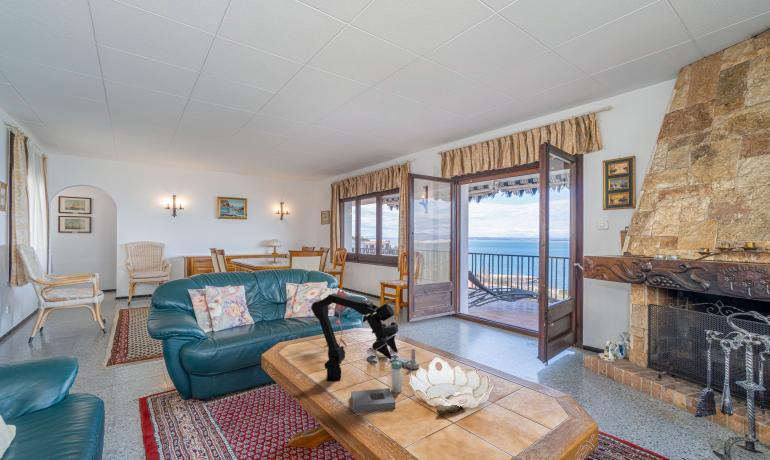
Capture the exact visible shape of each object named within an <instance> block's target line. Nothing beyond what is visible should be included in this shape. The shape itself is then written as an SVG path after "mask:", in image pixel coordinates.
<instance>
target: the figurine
mask: <svg viewBox="0 0 770 460" xmlns="http://www.w3.org/2000/svg"><path fill="white" fill-rule="evenodd" d="M335 294H337V295H340V296H343V297H347V293H346V292H345V291H344V290H340V289H338V290H337V292H336V293H335ZM336 308H337V309H338V310H337V309H336ZM345 308H347V309H348V310H349V311H350V312H351V313H353V310H351V308H349V307H345V306H342V305H338V304H335V307H333V308H332V307H331V308H330V307H328V309H329V310H334V311H336V312H337V313H338V314H339V315H338V319H337V320H336V321H335V323H333V324H331V326H335V325H339V326H340V329H343V327H342V325H341V321H340V317H341V314H342V312H341V311H342V310H345ZM340 335H341V337H340V338H339V343H338V345H339V346H340V345H341V343H342V344H343V345H344V346H345V347H348V345H347V343H346V342H345V340H344V339H343V331H341V334H340ZM347 342H349V343H352V344H353V342H352V341H348V340H347Z"/></svg>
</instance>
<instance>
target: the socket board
mask: <svg viewBox="0 0 770 460" xmlns="http://www.w3.org/2000/svg"><path fill="white" fill-rule="evenodd" d="M350 393H351V394H350V395H351V396H350V397H351V402H352V408H353V412H354V413H360V412H361V413H363V412H372V411H373V412H374V411H383V410H392V409H396V401H395V398H394V396H393V394H392V393H393V392H392V390H391V389H390V388H389V387H388V388H387V387H386V388H376V389H368V390H367V389H365V390H355V391H353V390H351V392H350Z"/></svg>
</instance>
